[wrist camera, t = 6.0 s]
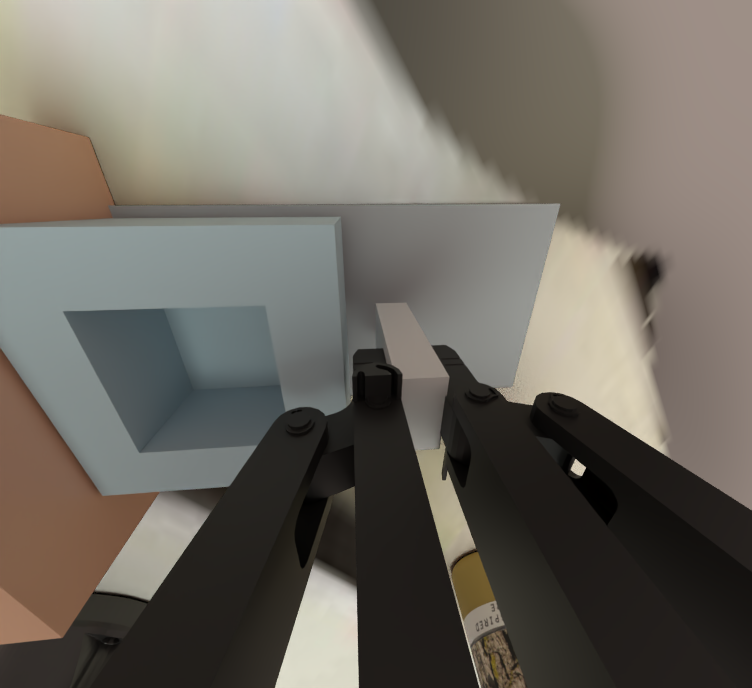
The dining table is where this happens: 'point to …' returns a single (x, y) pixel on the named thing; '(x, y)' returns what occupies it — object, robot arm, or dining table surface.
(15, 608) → the wall
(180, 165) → the dining table surface
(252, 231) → the socket block
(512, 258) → the mat
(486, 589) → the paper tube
